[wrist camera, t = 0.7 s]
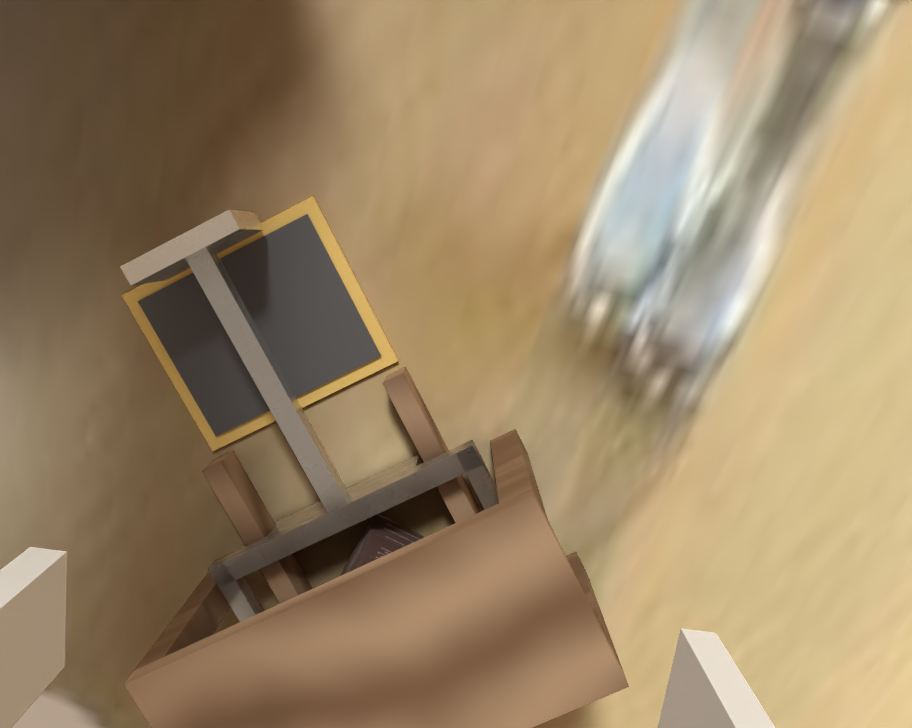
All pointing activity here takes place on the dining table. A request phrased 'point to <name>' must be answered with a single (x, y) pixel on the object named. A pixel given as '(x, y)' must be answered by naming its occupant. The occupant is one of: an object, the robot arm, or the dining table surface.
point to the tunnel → (395, 621)
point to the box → (379, 542)
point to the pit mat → (265, 325)
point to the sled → (291, 419)
